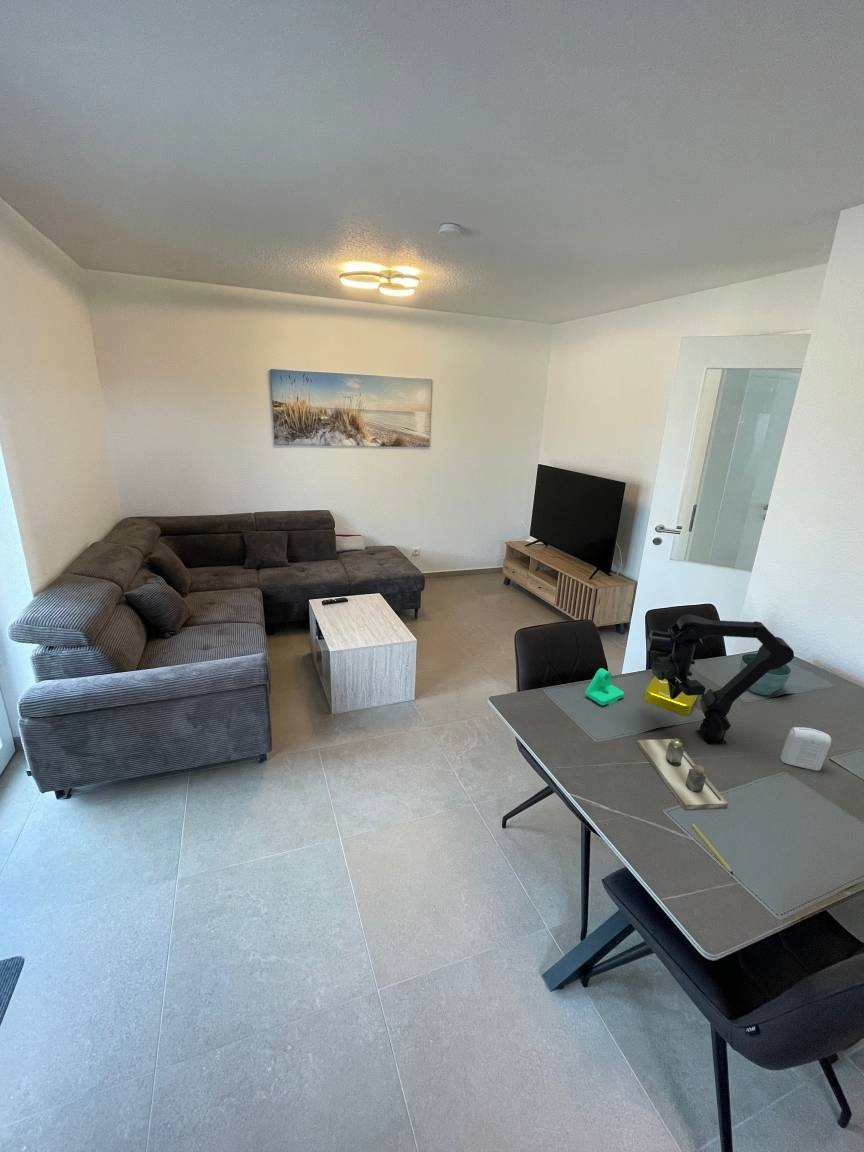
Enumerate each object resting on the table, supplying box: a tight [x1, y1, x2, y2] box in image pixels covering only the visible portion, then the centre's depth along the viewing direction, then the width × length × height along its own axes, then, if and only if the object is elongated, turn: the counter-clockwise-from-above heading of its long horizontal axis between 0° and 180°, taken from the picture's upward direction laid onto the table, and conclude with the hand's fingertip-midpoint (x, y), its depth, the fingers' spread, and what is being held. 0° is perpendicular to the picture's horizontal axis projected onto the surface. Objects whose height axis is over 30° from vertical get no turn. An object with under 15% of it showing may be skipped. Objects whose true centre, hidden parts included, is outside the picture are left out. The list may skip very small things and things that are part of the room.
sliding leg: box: [665, 738, 685, 764], centre depth 145 cm, size 3×3×7 cm
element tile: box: [643, 675, 698, 717], centre depth 179 cm, size 15×15×5 cm
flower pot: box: [739, 652, 793, 696], centre depth 187 cm, size 16×16×11 cm
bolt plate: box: [636, 738, 729, 811], centre depth 142 cm, size 12×26×8 cm, turn 6°
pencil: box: [690, 823, 734, 875], centre depth 120 cm, size 1×14×1 cm, turn 11°
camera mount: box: [584, 667, 625, 706], centre depth 177 cm, size 12×8×10 cm, turn 122°
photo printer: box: [779, 726, 832, 772], centre depth 148 cm, size 10×4×12 cm, turn 73°
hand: (672, 698), depth 159 cm, fingers closed
